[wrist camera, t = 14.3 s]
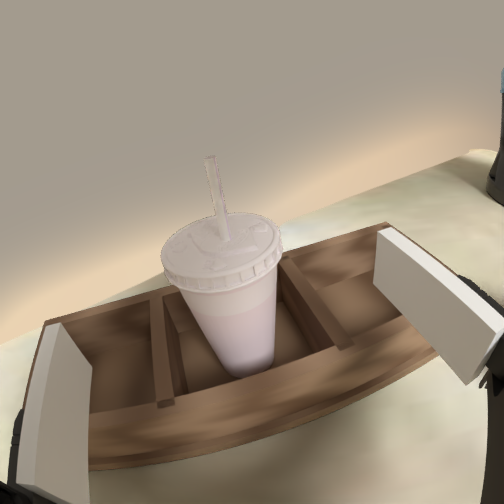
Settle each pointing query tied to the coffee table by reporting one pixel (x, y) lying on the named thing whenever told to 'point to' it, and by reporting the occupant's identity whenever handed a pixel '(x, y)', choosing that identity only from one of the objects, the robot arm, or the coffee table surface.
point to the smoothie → (229, 280)
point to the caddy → (232, 388)
